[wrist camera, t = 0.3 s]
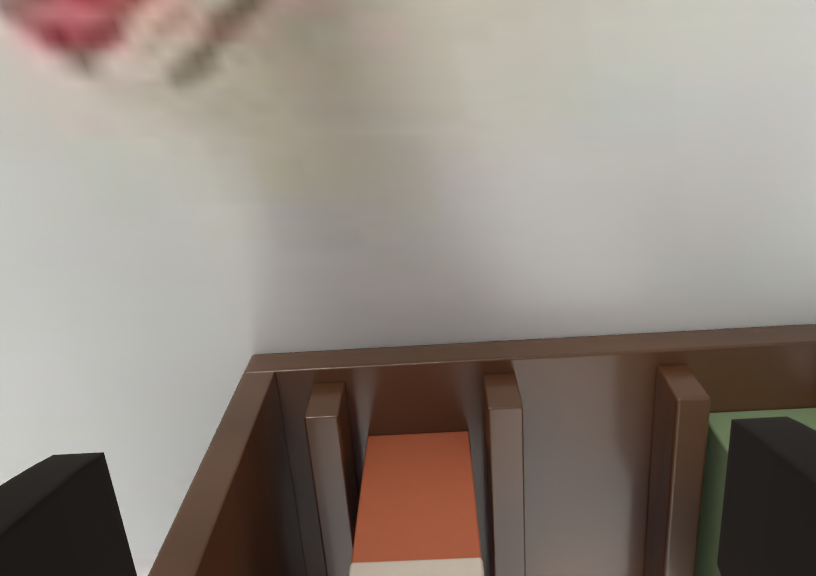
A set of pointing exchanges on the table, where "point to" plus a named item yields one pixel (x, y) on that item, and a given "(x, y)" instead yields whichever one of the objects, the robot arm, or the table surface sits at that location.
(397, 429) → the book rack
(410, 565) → the terracotta book
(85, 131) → the table surface
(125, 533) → the robot arm
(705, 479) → the green book
